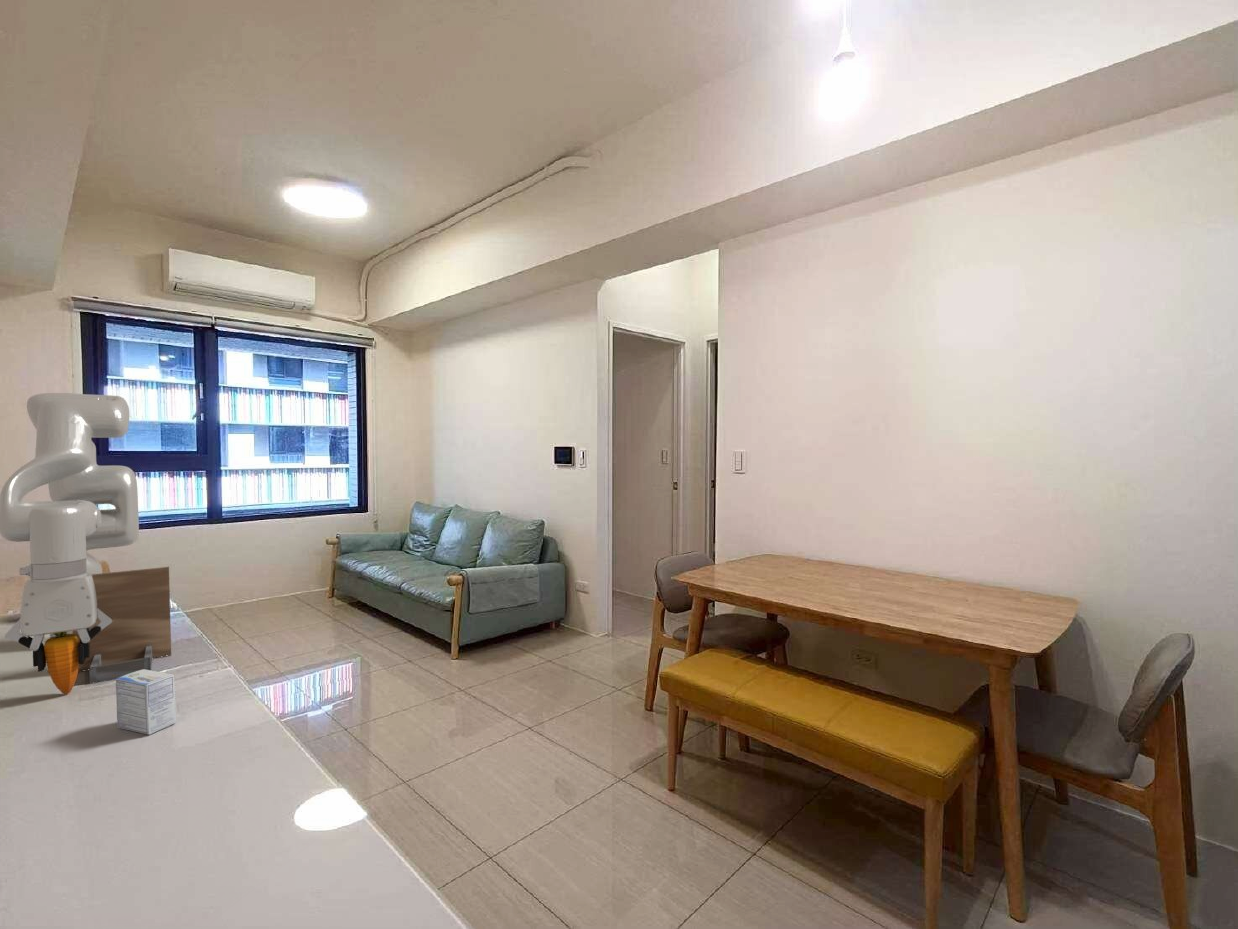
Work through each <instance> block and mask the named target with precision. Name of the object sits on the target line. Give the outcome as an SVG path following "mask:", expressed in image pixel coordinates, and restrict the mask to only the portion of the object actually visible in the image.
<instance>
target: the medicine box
mask: <svg viewBox="0 0 1238 929" xmlns="http://www.w3.org/2000/svg"><path fill="white" fill-rule="evenodd" d="M175 692H176V691H175V676H174V674H172V673H166V672H162V671H156V670H152V669H151V670H145V669H142V670H139V671H136V672H133V673H130V674H127V675H124V676H122V677H119V678H117V679H115V696H116V697H115V698H116V722H117V723H116V724H117V725H116V726H117V728H118V729H123V730H127V731H132V732H136V733H140V734H144V735H152V734H154V733H157V732H160V731H162V730H164V729H167V728H169V727H171V726H175V724H176V723H177V716H176V696H175V695H176V694H175Z"/></svg>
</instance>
